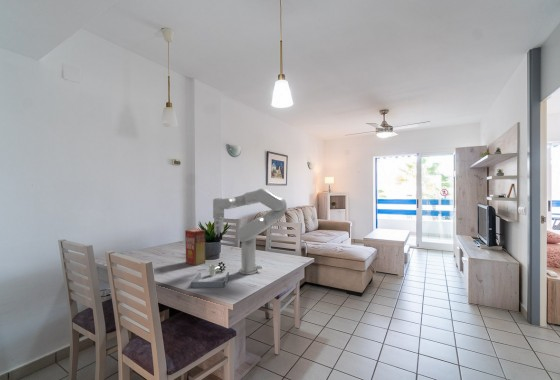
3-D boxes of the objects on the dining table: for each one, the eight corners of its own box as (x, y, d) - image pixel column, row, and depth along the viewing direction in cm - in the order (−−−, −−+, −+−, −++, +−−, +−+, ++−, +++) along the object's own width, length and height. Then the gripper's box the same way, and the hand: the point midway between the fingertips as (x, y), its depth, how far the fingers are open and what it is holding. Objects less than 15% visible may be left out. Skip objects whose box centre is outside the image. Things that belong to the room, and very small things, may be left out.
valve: (214, 277, 165) (226, 271, 176) (214, 266, 165) (226, 262, 176) (206, 275, 168) (218, 270, 179) (206, 265, 168) (218, 260, 179)
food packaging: (184, 262, 197) (184, 230, 197) (195, 260, 204) (195, 228, 204) (195, 266, 189) (195, 231, 188) (206, 263, 196) (206, 230, 196)
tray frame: (229, 276, 166) (229, 272, 166) (224, 287, 149) (224, 281, 149) (199, 277, 165) (199, 272, 165) (191, 287, 148) (191, 282, 148)
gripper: (221, 217, 171) (221, 243, 172) (226, 214, 189) (226, 238, 189) (210, 217, 171) (210, 243, 171) (215, 214, 188) (215, 238, 189)
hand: (218, 240), depth 180 cm, fingers open, 8 cm apart
